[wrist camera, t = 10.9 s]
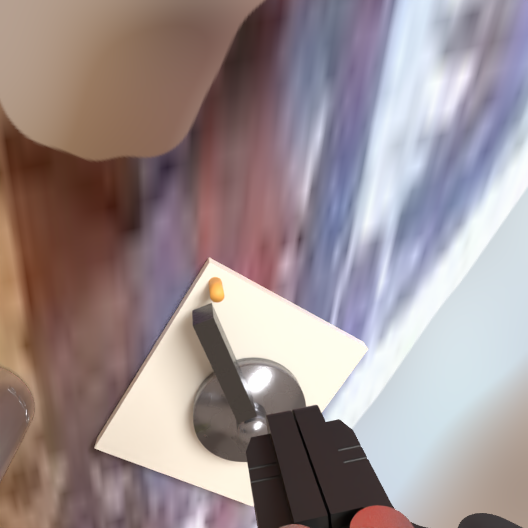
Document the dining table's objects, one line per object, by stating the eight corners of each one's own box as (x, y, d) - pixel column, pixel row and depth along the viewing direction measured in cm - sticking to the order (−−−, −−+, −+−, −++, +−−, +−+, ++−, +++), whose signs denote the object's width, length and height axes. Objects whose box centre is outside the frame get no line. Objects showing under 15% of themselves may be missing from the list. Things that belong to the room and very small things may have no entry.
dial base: (251, 495, 50) (256, 530, 46) (97, 437, 45) (87, 471, 41) (363, 341, 46) (380, 364, 42) (208, 257, 41) (211, 273, 37)
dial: (315, 426, 47) (328, 457, 42) (217, 466, 46) (220, 502, 42) (258, 277, 40) (266, 296, 36) (143, 322, 40) (138, 346, 36)
